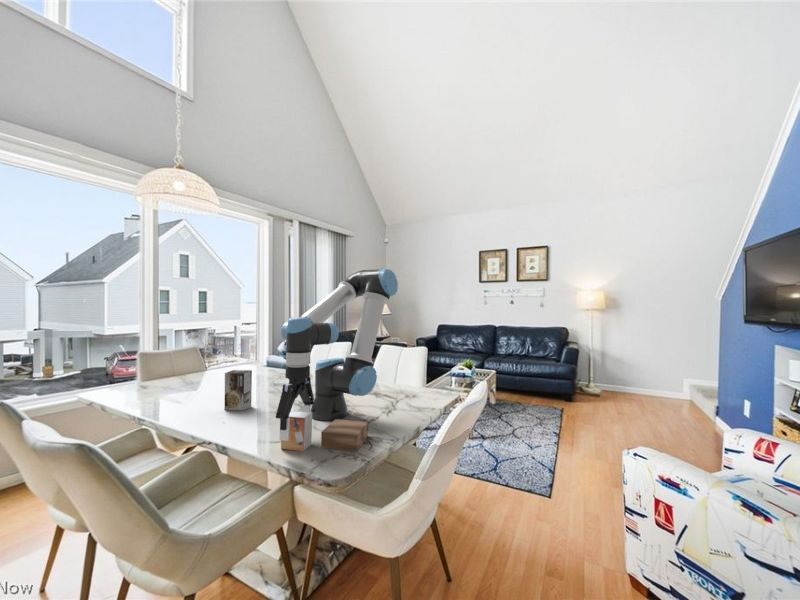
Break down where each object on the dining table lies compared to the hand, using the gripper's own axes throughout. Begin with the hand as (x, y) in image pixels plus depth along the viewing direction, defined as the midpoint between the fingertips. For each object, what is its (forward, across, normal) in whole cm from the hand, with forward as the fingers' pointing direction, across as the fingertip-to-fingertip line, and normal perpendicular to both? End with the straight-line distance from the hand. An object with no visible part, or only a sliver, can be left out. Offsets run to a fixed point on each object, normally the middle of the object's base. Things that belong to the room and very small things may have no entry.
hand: (295, 431), depth 104 cm
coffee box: (+5, -30, -44) cm, 54 cm away
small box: (+5, 0, 0) cm, 5 cm away
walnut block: (+5, -8, +14) cm, 17 cm away
